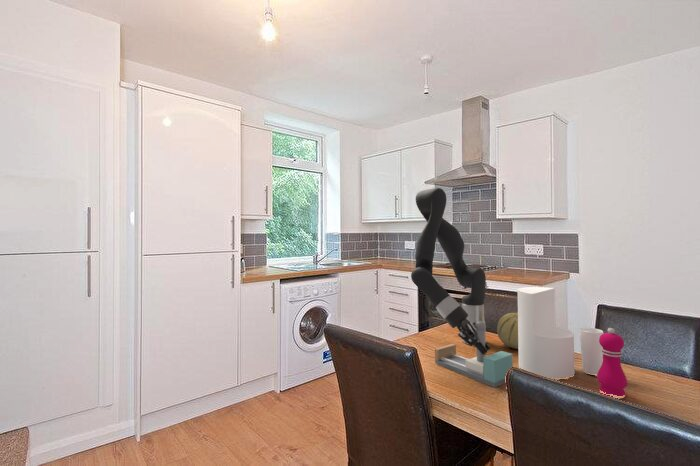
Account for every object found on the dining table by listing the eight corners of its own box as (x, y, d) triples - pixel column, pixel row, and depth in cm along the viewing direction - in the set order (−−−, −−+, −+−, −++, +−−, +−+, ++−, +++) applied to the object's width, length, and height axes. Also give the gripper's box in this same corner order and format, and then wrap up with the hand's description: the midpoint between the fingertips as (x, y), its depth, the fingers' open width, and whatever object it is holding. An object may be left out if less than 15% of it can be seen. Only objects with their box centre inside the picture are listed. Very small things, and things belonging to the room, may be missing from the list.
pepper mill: (591, 389, 107) (590, 325, 107) (613, 388, 108) (612, 324, 108) (610, 401, 100) (609, 332, 100) (634, 399, 101) (633, 331, 100)
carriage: (479, 361, 125) (479, 317, 125) (497, 367, 119) (496, 321, 119) (465, 366, 120) (464, 321, 120) (482, 373, 115) (482, 325, 114)
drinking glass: (600, 371, 121) (599, 328, 121) (607, 379, 115) (606, 333, 114) (577, 368, 123) (577, 326, 123) (583, 376, 117) (583, 332, 117)
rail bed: (452, 357, 136) (452, 335, 136) (512, 379, 115) (512, 354, 115) (435, 363, 131) (434, 340, 131) (494, 387, 110) (494, 360, 110)
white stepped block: (509, 368, 125) (508, 290, 125) (532, 357, 135) (531, 285, 135) (562, 384, 111) (560, 297, 111) (582, 370, 121) (581, 291, 121)
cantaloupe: (509, 340, 156) (508, 306, 156) (542, 348, 144) (541, 312, 144) (489, 346, 148) (489, 311, 148) (523, 356, 136) (522, 318, 136)
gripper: (451, 308, 118) (489, 351, 111) (465, 301, 130) (500, 339, 122) (437, 322, 122) (473, 364, 114) (451, 314, 133) (485, 351, 126)
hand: (487, 351), depth 118 cm, fingers closed on carriage, 3 cm apart
